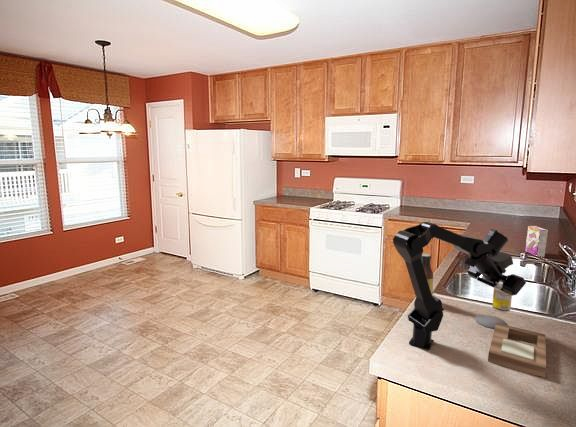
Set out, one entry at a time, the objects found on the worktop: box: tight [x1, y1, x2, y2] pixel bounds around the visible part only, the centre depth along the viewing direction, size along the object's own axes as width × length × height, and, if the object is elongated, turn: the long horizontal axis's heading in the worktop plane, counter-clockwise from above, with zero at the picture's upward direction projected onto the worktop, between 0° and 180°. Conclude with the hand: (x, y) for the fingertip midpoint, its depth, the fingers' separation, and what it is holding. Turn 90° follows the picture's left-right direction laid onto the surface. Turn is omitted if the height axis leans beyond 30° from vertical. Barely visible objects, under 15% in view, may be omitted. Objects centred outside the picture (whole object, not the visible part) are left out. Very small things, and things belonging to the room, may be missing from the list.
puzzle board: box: [487, 323, 547, 379], centre depth 112 cm, size 22×14×4 cm, turn 145°
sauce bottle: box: [421, 253, 434, 296], centre depth 148 cm, size 7×6×20 cm
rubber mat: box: [474, 314, 508, 330], centre depth 132 cm, size 10×10×1 cm
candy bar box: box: [524, 225, 549, 258], centre depth 212 cm, size 11×5×16 cm, turn 179°
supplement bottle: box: [491, 281, 513, 313], centre depth 126 cm, size 6×6×10 cm
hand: (505, 291), depth 126 cm, fingers closed on supplement bottle, 6 cm apart
